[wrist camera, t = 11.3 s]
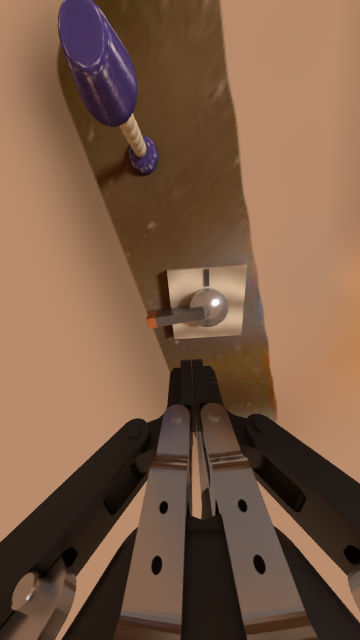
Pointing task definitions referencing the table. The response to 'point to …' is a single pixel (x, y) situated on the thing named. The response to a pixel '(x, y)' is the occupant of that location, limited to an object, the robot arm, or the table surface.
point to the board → (216, 277)
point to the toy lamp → (104, 75)
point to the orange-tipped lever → (193, 311)
